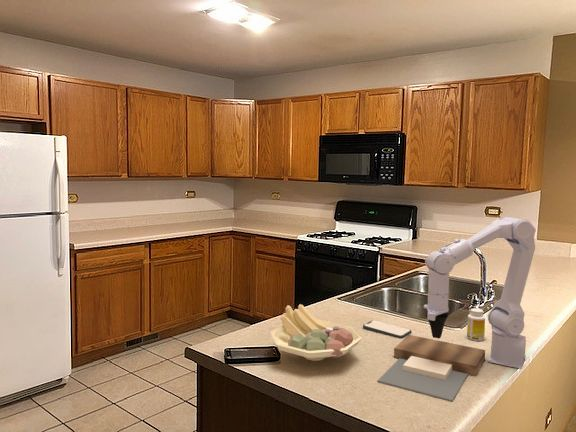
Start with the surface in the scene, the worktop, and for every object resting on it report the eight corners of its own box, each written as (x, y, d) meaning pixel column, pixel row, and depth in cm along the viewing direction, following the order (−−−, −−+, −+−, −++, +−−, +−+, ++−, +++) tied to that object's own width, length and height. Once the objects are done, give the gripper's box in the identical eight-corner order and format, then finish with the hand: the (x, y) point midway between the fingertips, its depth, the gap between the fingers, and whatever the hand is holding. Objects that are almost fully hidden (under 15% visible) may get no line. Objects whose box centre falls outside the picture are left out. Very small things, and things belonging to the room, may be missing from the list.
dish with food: (290, 332, 164) (290, 293, 161) (369, 345, 153) (370, 304, 151) (254, 368, 138) (254, 323, 136) (346, 387, 128) (347, 338, 125)
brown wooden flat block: (484, 359, 143) (485, 350, 143) (475, 376, 132) (476, 366, 131) (408, 343, 156) (408, 334, 156) (393, 357, 145) (394, 348, 144)
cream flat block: (452, 369, 135) (452, 364, 135) (445, 380, 128) (445, 375, 128) (411, 360, 141) (411, 355, 141) (402, 370, 135) (402, 365, 135)
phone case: (412, 334, 167) (373, 323, 177) (413, 329, 167) (373, 319, 177) (401, 341, 160) (361, 329, 171) (401, 336, 160) (361, 325, 170)
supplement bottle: (487, 339, 160) (489, 310, 159) (476, 342, 157) (478, 313, 156) (474, 334, 165) (475, 306, 164) (463, 337, 162) (464, 308, 161)
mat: (467, 375, 132) (467, 373, 132) (452, 401, 117) (452, 400, 117) (399, 359, 143) (399, 358, 143) (377, 381, 128) (377, 380, 128)
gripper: (431, 285, 145) (429, 327, 146) (417, 296, 133) (416, 342, 134) (454, 288, 141) (453, 331, 143) (442, 300, 129) (440, 347, 130)
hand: (436, 337), depth 138 cm, fingers closed
